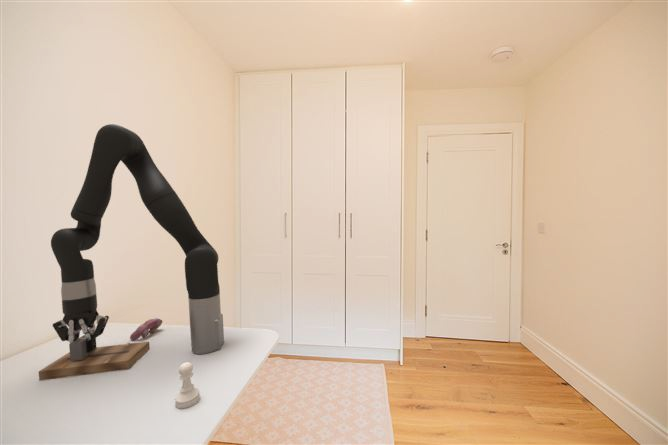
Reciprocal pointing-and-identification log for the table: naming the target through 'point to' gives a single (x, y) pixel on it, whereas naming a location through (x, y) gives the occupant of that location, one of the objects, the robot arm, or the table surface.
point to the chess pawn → (186, 388)
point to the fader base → (96, 361)
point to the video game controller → (146, 328)
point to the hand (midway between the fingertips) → (83, 352)
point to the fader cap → (79, 349)
